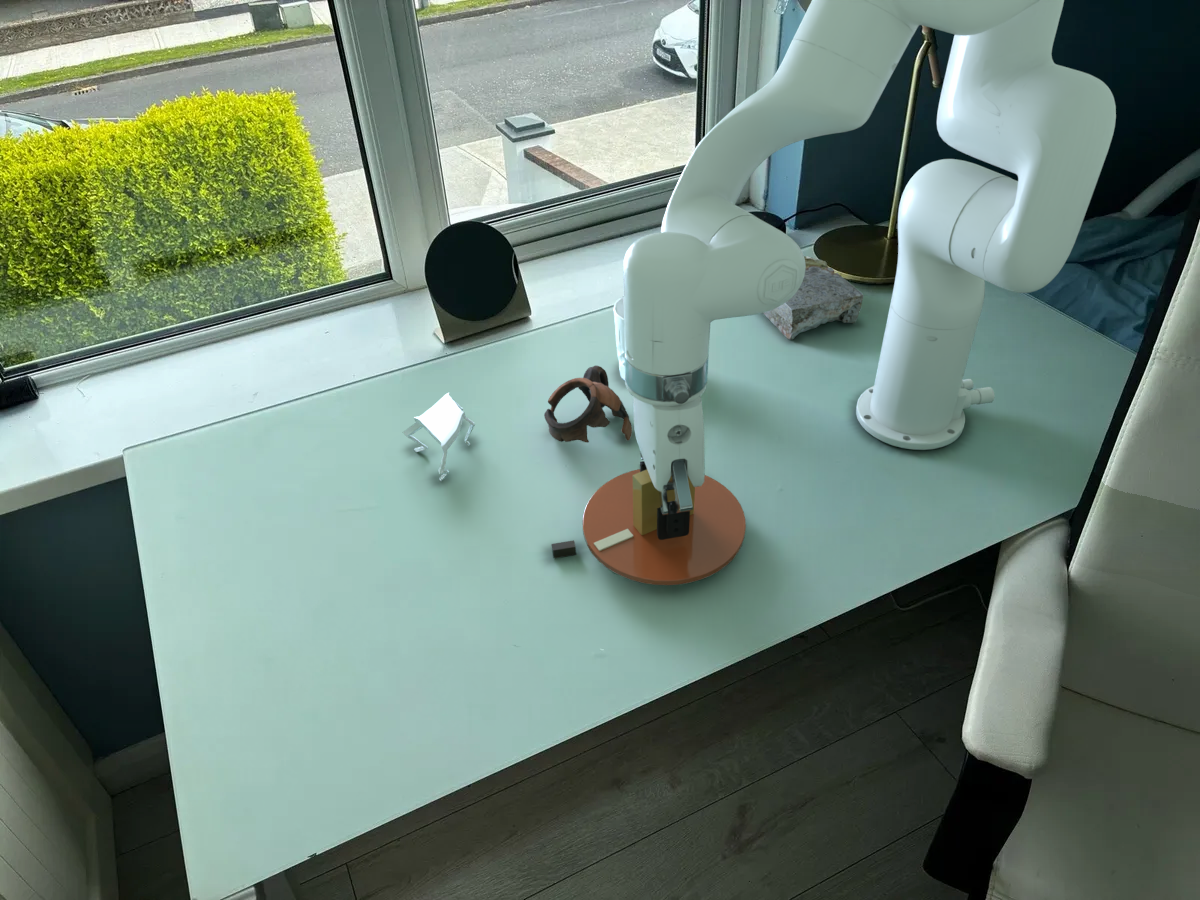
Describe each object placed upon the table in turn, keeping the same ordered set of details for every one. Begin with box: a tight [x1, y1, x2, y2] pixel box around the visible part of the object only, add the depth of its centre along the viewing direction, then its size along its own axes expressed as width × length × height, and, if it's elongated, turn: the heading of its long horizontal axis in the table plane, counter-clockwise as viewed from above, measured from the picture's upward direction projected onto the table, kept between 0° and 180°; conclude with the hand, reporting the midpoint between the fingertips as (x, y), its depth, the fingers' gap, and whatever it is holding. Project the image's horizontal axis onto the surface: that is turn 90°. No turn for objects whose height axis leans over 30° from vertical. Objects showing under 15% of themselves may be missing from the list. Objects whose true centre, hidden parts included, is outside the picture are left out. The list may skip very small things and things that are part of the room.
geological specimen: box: [762, 255, 864, 341], centre depth 128 cm, size 11×6×15 cm
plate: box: [581, 468, 747, 586], centre depth 92 cm, size 17×17×8 cm
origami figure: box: [402, 391, 476, 482], centre depth 106 cm, size 12×8×5 cm
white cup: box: [613, 295, 625, 381], centre depth 116 cm, size 8×8×10 cm
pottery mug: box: [543, 365, 633, 444], centre depth 109 cm, size 12×10×8 cm
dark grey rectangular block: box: [551, 540, 577, 559], centre depth 95 cm, size 17×10×2 cm, turn 101°
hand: (663, 510), depth 93 cm, fingers open, 6 cm apart
